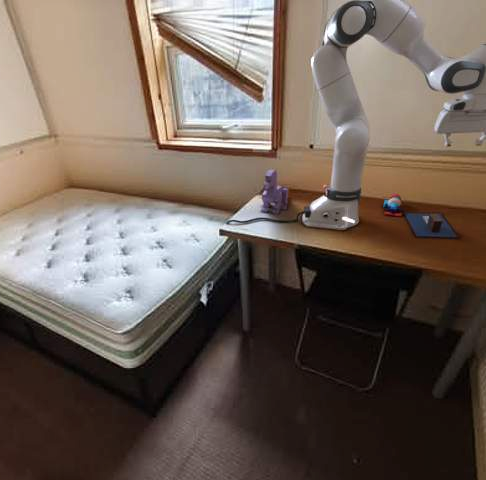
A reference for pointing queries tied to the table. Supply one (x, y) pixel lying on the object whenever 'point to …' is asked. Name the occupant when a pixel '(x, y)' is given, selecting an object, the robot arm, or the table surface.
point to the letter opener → (433, 222)
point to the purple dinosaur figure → (274, 193)
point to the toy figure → (393, 205)
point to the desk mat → (423, 230)
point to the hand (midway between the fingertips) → (462, 145)
